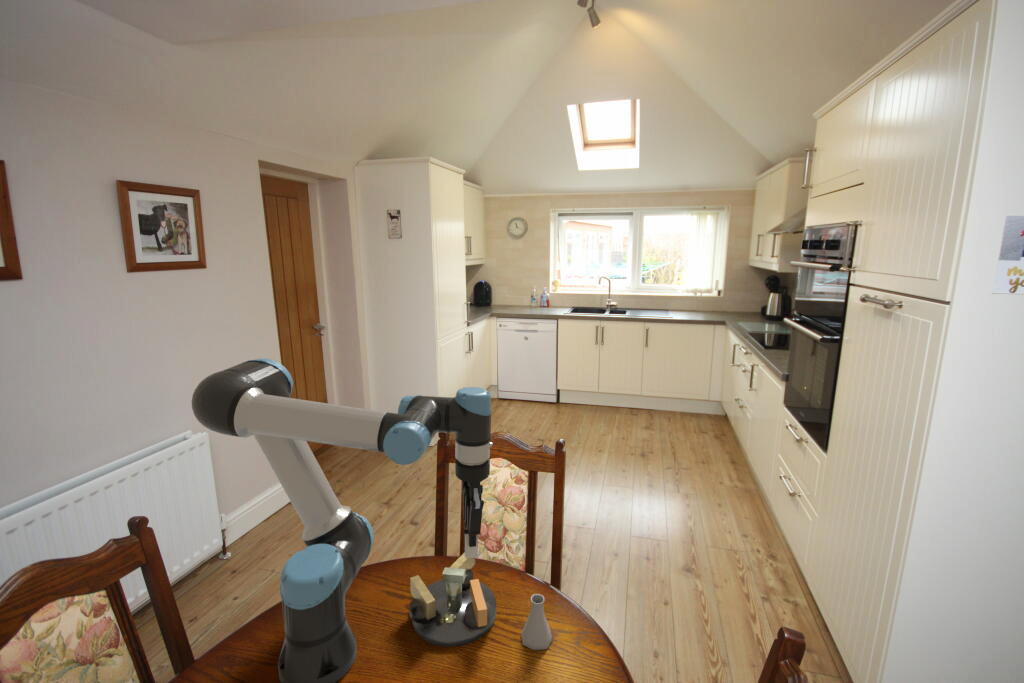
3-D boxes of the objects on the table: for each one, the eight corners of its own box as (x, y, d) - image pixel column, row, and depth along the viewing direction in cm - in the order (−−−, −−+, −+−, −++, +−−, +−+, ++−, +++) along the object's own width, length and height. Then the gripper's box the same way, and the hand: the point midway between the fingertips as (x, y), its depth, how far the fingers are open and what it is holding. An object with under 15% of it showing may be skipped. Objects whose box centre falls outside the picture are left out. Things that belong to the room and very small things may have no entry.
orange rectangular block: (495, 632, 104) (496, 607, 103) (469, 638, 103) (468, 612, 102) (486, 601, 114) (486, 577, 113) (461, 605, 112) (461, 581, 111)
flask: (550, 654, 102) (552, 613, 100) (517, 648, 103) (518, 608, 101) (554, 628, 109) (555, 589, 107) (523, 623, 110) (524, 585, 108)
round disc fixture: (397, 641, 105) (395, 597, 102) (427, 574, 127) (426, 536, 125) (488, 651, 102) (488, 606, 100) (503, 581, 124) (503, 543, 122)
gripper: (496, 470, 98) (493, 571, 102) (483, 445, 110) (481, 537, 115) (460, 473, 96) (459, 577, 100) (451, 447, 108) (450, 541, 113)
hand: (471, 555), depth 107 cm, fingers closed
